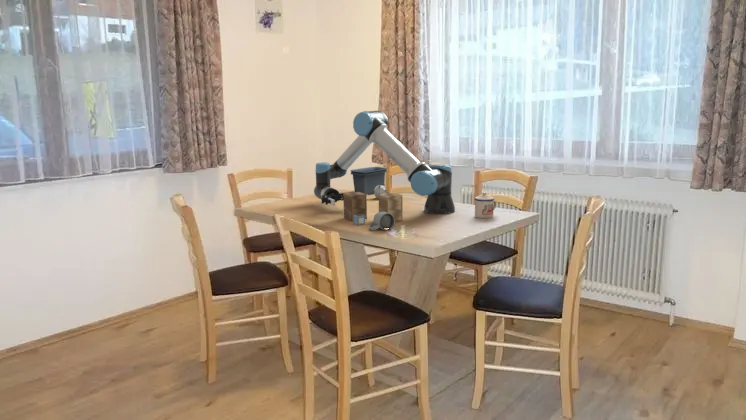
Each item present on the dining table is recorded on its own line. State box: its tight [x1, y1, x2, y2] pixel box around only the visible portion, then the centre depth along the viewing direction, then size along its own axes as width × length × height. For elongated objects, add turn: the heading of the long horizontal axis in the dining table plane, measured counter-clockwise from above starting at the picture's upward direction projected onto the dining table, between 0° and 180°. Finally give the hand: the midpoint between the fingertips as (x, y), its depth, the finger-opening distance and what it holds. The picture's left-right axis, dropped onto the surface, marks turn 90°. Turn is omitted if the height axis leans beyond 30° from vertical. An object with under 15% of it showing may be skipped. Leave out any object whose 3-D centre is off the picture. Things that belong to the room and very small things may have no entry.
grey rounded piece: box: [372, 184, 389, 200], centre depth 338 cm, size 9×8×10 cm
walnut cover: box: [343, 191, 368, 222], centre depth 286 cm, size 8×8×12 cm
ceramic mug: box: [368, 211, 396, 231], centre depth 265 cm, size 11×8×8 cm
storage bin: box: [349, 166, 388, 196], centre depth 358 cm, size 21×16×14 cm
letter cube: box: [353, 214, 366, 226], centre depth 276 cm, size 4×4×4 cm
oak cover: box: [378, 192, 404, 223], centre depth 282 cm, size 8×8×12 cm
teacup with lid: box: [474, 191, 497, 219], centre depth 288 cm, size 12×9×12 cm
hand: (347, 201), depth 294 cm, fingers open, 13 cm apart
